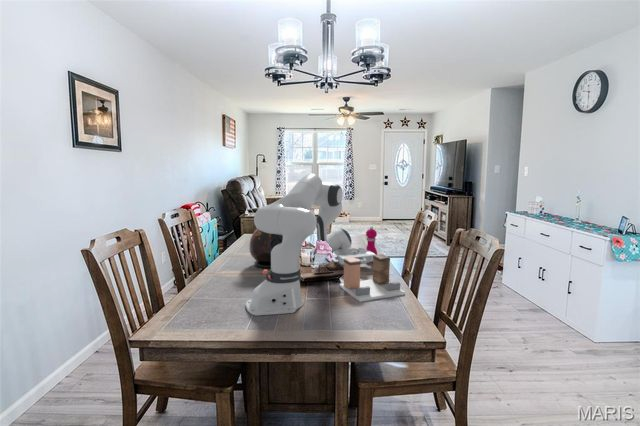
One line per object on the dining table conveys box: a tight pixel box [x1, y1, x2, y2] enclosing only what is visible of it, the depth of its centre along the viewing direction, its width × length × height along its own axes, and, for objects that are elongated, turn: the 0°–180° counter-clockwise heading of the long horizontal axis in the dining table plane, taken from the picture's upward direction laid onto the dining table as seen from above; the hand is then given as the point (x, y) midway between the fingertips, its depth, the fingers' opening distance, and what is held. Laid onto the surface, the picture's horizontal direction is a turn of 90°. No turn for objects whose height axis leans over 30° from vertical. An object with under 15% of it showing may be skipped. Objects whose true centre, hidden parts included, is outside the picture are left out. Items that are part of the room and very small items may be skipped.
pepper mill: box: [365, 226, 378, 264], centre depth 200 cm, size 7×7×20 cm
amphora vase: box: [248, 228, 283, 270], centre depth 191 cm, size 22×22×28 cm
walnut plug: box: [372, 253, 391, 284], centre depth 163 cm, size 5×6×12 cm
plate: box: [339, 278, 406, 303], centre depth 157 cm, size 22×19×4 cm
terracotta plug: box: [343, 257, 362, 289], centre depth 157 cm, size 5×6×12 cm
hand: (364, 262), depth 177 cm, fingers closed
